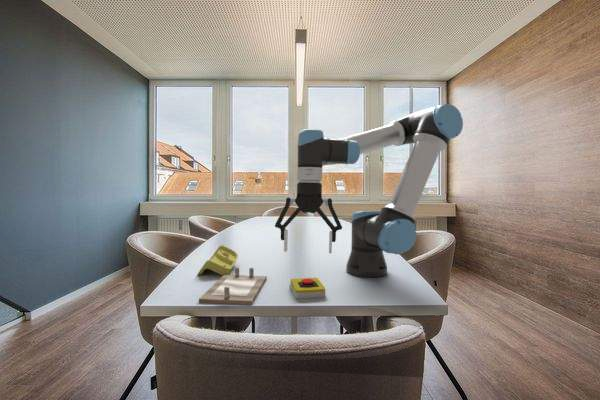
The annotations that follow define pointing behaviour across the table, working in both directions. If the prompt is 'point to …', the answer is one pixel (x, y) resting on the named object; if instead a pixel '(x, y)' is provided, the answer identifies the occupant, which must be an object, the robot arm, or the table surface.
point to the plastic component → (221, 261)
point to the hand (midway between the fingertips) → (307, 251)
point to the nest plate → (235, 289)
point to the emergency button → (307, 289)
